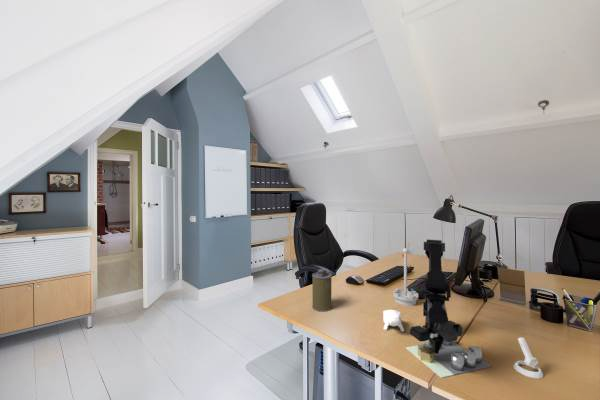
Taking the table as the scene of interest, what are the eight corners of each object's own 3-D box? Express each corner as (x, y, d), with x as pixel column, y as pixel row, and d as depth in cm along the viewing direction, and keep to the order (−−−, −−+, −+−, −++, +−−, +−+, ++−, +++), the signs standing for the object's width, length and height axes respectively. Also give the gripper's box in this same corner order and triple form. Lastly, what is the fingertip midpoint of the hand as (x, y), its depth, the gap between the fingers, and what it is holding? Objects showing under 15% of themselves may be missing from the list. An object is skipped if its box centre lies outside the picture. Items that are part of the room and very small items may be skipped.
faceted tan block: (415, 356, 100) (415, 348, 100) (425, 352, 103) (425, 344, 102) (427, 364, 95) (427, 355, 95) (437, 359, 98) (437, 351, 98)
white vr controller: (512, 340, 101) (531, 337, 96) (529, 379, 94) (550, 378, 89) (498, 340, 99) (517, 336, 94) (514, 379, 92) (536, 378, 87)
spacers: (420, 344, 108) (421, 334, 108) (448, 339, 111) (448, 329, 111) (457, 372, 91) (457, 360, 91) (488, 365, 95) (488, 353, 94)
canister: (325, 313, 137) (325, 273, 137) (308, 308, 143) (308, 270, 143) (335, 306, 146) (335, 269, 145) (319, 301, 152) (319, 266, 151)
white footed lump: (381, 328, 128) (385, 331, 114) (381, 308, 131) (384, 309, 117) (401, 329, 126) (406, 333, 112) (399, 310, 129) (405, 311, 115)
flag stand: (422, 306, 145) (422, 250, 144) (397, 306, 145) (397, 250, 144) (412, 297, 158) (412, 245, 157) (390, 297, 158) (390, 245, 157)
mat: (405, 347, 106) (405, 347, 106) (449, 339, 112) (449, 339, 112) (441, 378, 89) (441, 377, 89) (491, 366, 94) (491, 365, 94)
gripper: (431, 324, 89) (430, 371, 90) (475, 317, 94) (475, 361, 95) (408, 310, 100) (408, 352, 101) (450, 305, 105) (450, 344, 106)
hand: (436, 353), depth 100 cm, fingers closed
